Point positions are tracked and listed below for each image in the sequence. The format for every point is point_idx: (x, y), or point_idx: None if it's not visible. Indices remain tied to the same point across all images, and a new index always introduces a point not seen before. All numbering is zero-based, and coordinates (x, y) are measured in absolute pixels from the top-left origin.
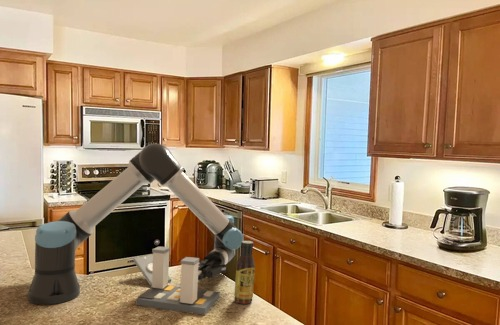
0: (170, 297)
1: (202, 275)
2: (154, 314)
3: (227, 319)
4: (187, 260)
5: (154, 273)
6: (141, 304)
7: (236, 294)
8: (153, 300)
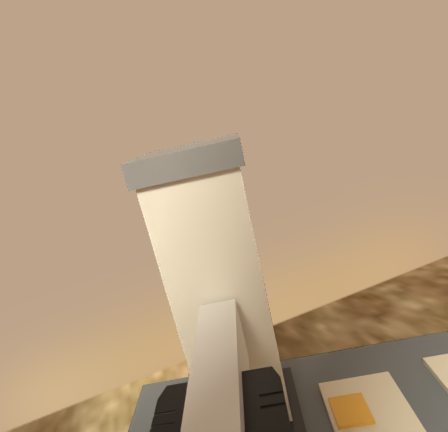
0: (383, 390)
1: (155, 410)
2: (356, 328)
3: (49, 421)
4: (196, 142)
5: None
6: None
7: None
8: (433, 338)
